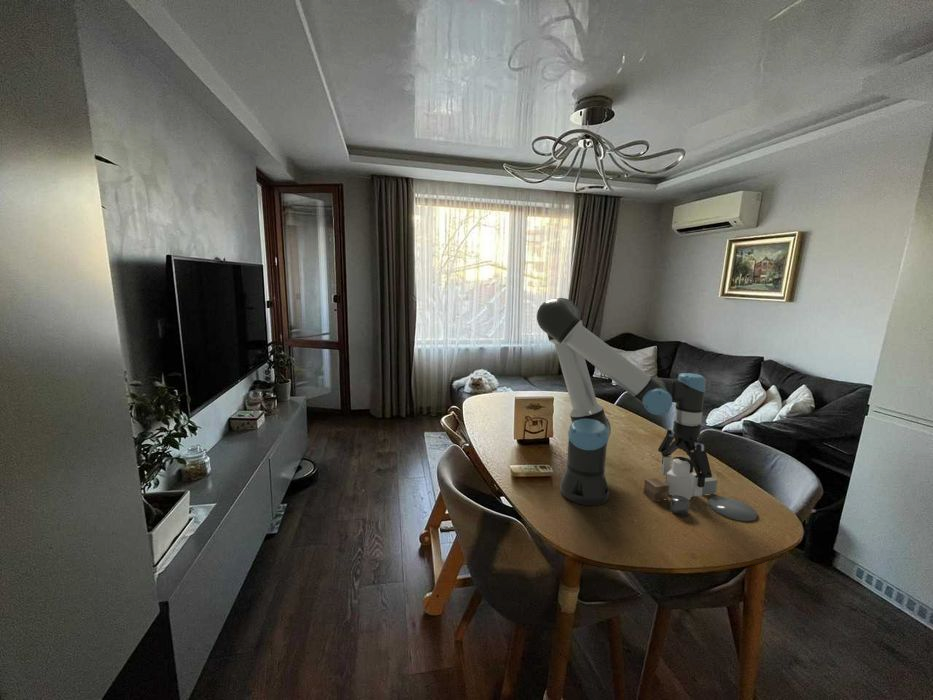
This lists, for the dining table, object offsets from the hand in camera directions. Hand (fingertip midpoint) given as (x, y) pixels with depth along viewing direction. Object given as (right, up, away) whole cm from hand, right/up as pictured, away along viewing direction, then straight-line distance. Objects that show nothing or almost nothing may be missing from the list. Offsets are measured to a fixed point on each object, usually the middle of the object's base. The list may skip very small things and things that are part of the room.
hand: (680, 484), depth 125 cm
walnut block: (-9, -3, -1) cm, 10 cm away
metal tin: (-6, -5, -10) cm, 12 cm away
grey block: (+9, -3, +2) cm, 10 cm away
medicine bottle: (0, -3, +1) cm, 3 cm away
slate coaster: (+11, -5, -8) cm, 15 cm away
